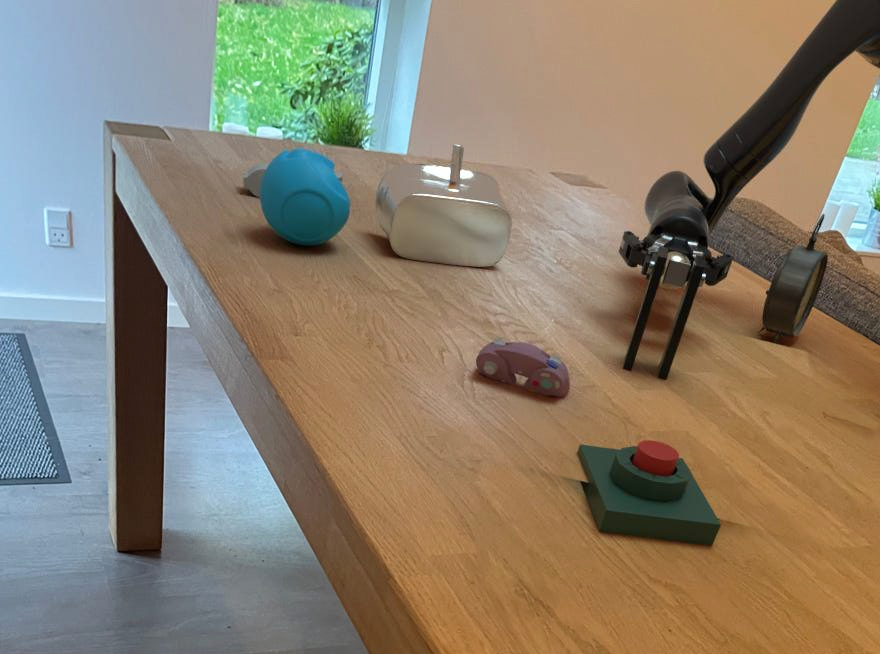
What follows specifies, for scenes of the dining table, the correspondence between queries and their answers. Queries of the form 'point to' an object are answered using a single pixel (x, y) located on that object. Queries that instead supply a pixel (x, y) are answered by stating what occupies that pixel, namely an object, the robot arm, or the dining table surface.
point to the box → (645, 499)
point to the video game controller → (524, 367)
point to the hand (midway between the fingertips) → (672, 276)
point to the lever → (675, 271)
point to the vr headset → (444, 214)
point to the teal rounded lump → (303, 197)
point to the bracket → (681, 317)
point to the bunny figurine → (255, 176)
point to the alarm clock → (794, 289)
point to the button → (655, 458)
